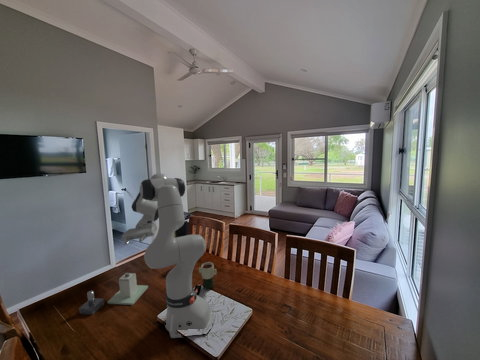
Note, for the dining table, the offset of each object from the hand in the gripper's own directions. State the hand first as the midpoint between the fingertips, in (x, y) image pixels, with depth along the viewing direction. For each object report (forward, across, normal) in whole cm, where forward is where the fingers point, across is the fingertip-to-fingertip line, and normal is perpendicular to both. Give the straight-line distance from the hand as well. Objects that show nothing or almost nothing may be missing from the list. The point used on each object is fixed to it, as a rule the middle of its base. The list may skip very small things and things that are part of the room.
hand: (133, 242), depth 117 cm
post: (+28, -15, +15) cm, 35 cm away
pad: (+18, -2, +20) cm, 28 cm away
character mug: (+13, +39, +31) cm, 51 cm away
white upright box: (+18, -2, +20) cm, 27 cm away
